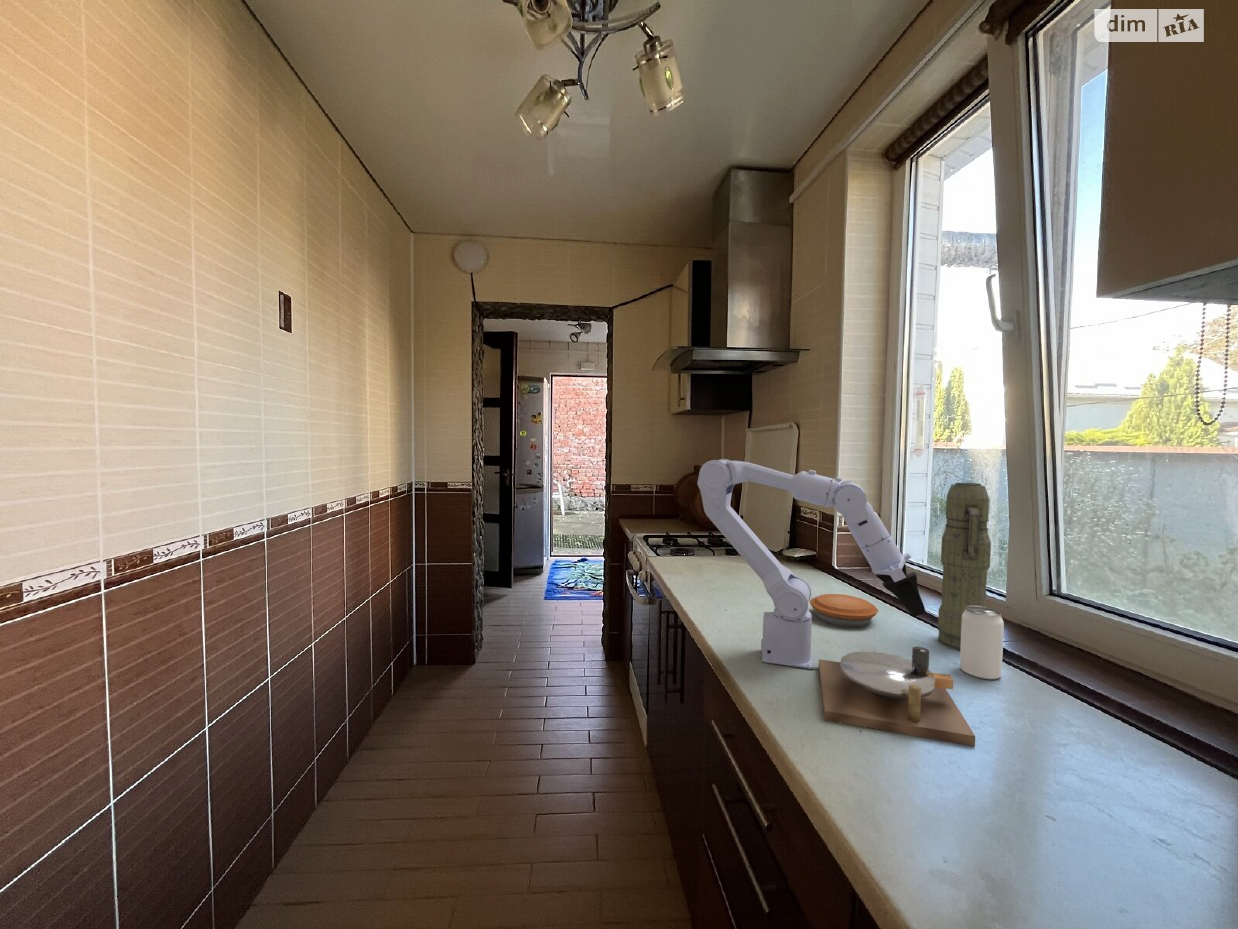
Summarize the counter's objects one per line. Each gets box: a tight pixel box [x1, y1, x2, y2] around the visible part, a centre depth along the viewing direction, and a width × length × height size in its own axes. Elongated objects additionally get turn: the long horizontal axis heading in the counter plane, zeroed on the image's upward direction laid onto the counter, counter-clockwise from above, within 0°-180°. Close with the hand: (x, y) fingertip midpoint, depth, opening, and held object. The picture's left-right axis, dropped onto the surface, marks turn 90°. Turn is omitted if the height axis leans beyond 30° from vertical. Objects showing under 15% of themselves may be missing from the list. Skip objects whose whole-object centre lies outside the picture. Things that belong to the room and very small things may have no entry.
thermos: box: [937, 482, 992, 651], centre depth 109 cm, size 9×12×35 cm
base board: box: [818, 658, 976, 747], centre depth 85 cm, size 20×20×6 cm
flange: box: [840, 646, 954, 698], centre depth 85 cm, size 16×14×6 cm
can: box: [959, 606, 1005, 681], centre depth 96 cm, size 6×6×12 cm
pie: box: [809, 593, 880, 628], centre depth 125 cm, size 16×16×5 cm
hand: (914, 608), depth 92 cm, fingers open, 7 cm apart
